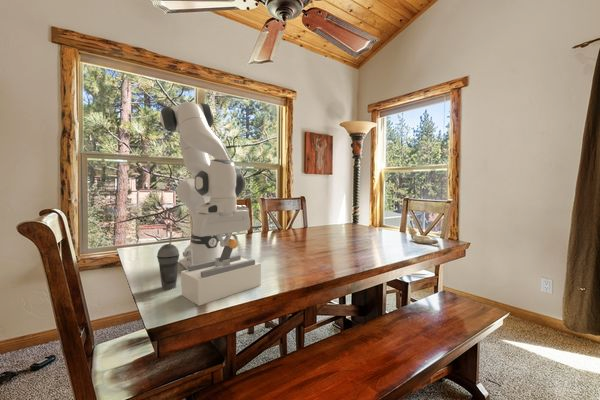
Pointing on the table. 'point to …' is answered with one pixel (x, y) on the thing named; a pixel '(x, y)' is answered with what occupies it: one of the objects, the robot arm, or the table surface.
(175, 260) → the beverage cup
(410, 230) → the lying animal figurine
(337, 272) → the table surface
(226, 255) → the lever
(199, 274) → the box
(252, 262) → the grey slotted rail
